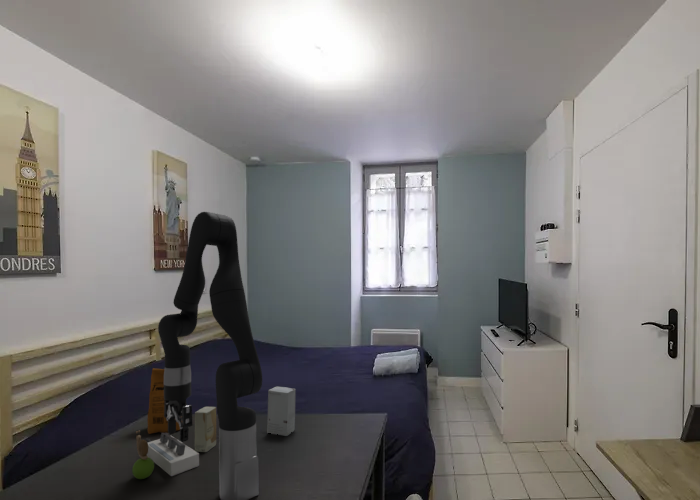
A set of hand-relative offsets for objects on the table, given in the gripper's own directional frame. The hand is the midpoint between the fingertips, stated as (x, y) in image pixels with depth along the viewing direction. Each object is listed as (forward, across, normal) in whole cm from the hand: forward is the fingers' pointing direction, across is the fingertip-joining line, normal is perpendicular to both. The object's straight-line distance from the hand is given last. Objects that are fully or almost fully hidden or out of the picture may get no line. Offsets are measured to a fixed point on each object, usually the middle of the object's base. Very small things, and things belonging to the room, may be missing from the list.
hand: (177, 437), depth 119 cm
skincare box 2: (+8, -3, -35) cm, 36 cm away
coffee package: (+8, +32, -9) cm, 34 cm away
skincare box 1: (+8, +5, -11) cm, 15 cm away
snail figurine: (+8, 0, +10) cm, 13 cm away
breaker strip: (+8, +10, 0) cm, 13 cm away
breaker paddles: (+5, +5, 0) cm, 7 cm away
